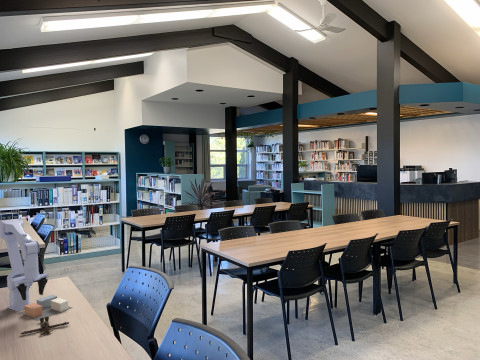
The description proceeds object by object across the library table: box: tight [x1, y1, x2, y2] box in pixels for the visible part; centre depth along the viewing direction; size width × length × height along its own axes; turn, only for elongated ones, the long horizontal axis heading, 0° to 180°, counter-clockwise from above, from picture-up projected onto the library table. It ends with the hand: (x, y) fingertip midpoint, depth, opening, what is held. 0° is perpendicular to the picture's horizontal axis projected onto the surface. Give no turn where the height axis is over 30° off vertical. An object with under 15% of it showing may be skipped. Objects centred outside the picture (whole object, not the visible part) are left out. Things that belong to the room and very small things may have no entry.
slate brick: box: [36, 294, 58, 309], centre depth 178 cm, size 8×4×4 cm, turn 147°
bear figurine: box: [20, 316, 70, 335], centre depth 154 cm, size 18×4×14 cm
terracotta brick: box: [23, 302, 43, 318], centre depth 168 cm, size 8×4×4 cm, turn 57°
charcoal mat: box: [17, 305, 73, 322], centre depth 173 cm, size 17×17×1 cm
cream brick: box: [51, 297, 69, 313], centre depth 174 cm, size 8×4×4 cm, turn 57°
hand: (32, 297), depth 168 cm, fingers open, 7 cm apart
